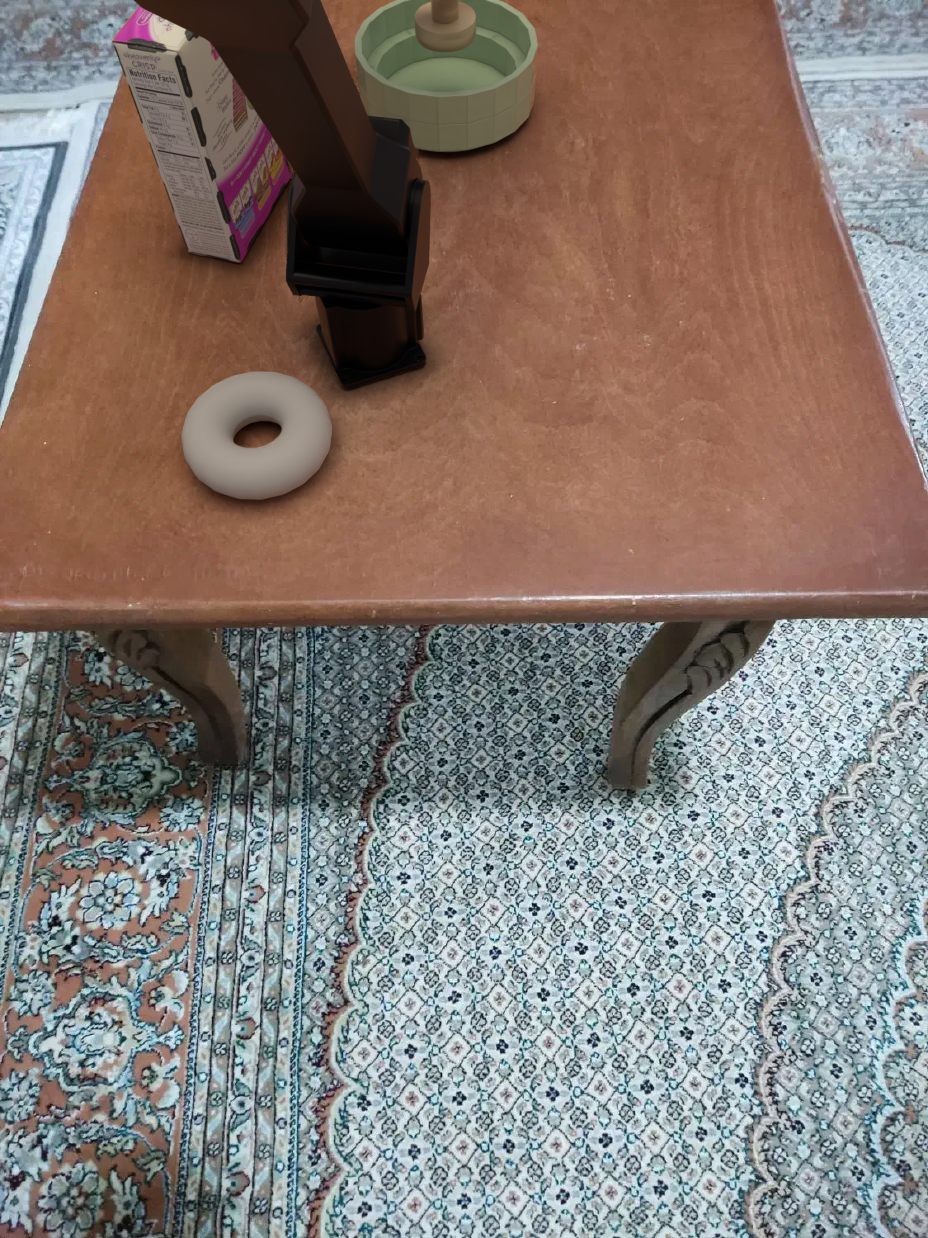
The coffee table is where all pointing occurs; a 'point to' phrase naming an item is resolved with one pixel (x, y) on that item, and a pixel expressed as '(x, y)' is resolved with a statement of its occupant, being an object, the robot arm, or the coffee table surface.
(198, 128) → the candy bar box
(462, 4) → the post
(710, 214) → the coffee table surface
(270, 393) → the donut
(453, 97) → the bowl
